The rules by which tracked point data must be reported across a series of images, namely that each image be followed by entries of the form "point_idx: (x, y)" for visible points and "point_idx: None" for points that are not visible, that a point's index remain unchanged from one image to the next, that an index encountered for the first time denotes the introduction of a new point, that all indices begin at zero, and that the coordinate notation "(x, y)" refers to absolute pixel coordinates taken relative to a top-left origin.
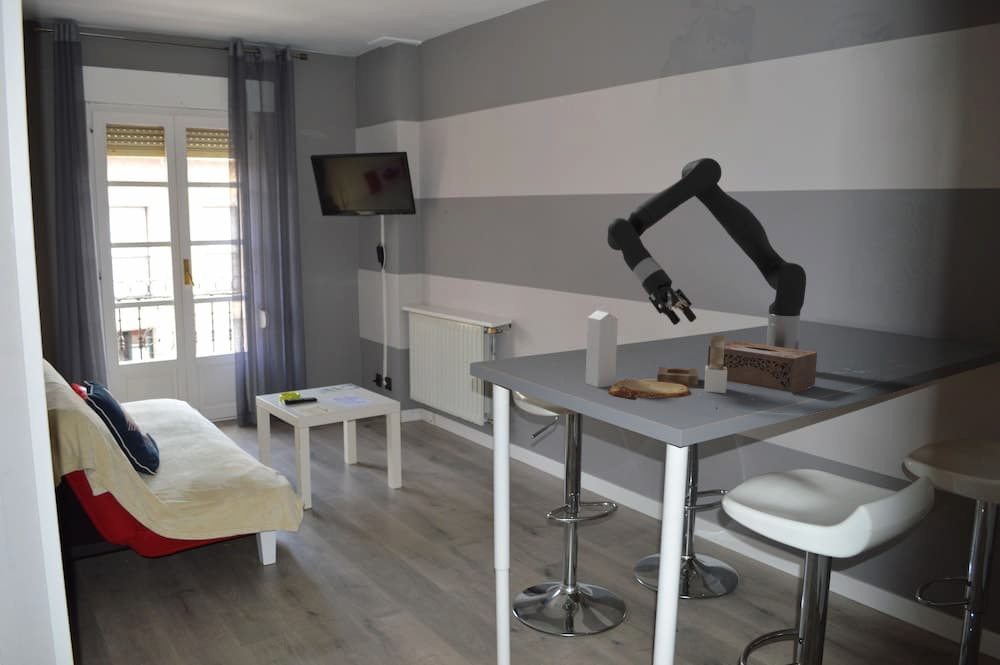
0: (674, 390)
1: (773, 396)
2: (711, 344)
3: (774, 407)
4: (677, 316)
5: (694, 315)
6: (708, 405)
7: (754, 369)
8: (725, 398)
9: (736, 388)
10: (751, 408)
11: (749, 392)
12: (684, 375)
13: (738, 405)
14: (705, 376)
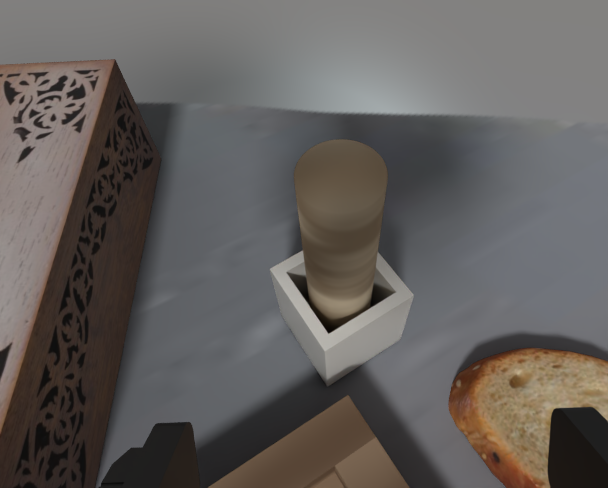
0: (573, 389)
1: (237, 174)
2: (375, 232)
3: (376, 114)
4: (602, 436)
5: (171, 435)
6: (544, 233)
7: (108, 243)
8: (399, 250)
9: (206, 308)
10: (447, 142)
11: (238, 245)
12: (386, 462)
13: (449, 179)
14: (399, 316)
